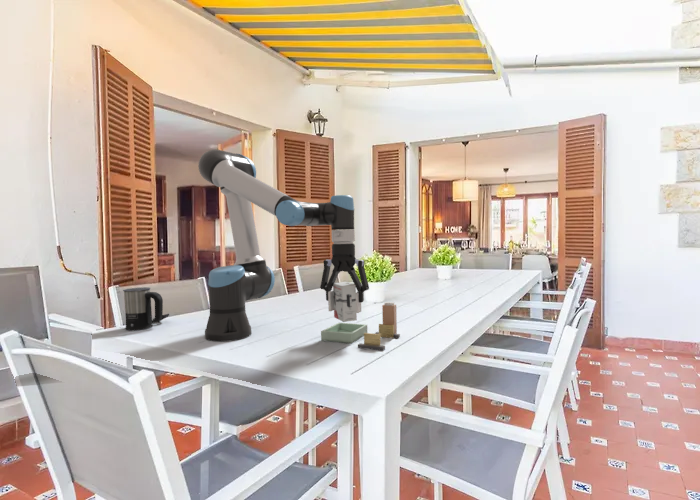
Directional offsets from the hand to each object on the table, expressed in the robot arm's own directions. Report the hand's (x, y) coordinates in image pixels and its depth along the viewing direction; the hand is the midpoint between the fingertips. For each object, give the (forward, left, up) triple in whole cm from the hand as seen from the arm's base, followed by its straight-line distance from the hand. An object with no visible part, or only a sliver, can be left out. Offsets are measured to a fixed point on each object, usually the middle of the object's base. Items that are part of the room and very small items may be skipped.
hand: (344, 311), depth 140 cm
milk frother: (-78, -10, -9) cm, 79 cm away
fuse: (+13, +8, -9) cm, 17 cm away
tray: (0, 0, -9) cm, 9 cm away
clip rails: (+13, -2, -9) cm, 16 cm away
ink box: (0, 0, -3) cm, 3 cm away
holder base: (+13, -2, -9) cm, 16 cm away
